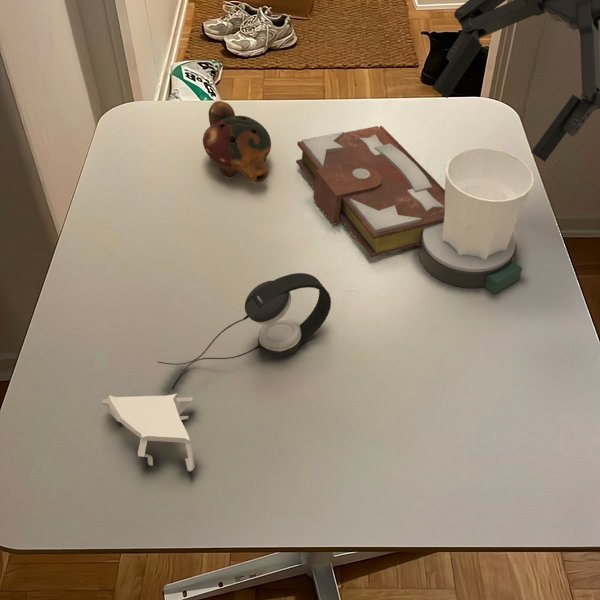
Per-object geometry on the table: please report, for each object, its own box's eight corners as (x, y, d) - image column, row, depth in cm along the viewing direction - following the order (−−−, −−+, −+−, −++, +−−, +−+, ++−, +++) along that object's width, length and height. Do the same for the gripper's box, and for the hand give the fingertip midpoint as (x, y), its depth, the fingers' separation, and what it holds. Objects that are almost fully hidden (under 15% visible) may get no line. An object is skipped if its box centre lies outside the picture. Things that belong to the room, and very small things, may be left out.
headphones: (173, 390, 84) (322, 305, 88) (188, 417, 82) (341, 329, 85) (144, 341, 77) (308, 251, 80) (159, 370, 74) (329, 275, 78)
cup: (439, 205, 97) (450, 142, 90) (516, 217, 96) (534, 154, 88) (430, 256, 91) (441, 194, 83) (513, 270, 89) (532, 207, 82)
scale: (539, 267, 94) (545, 248, 91) (471, 307, 89) (475, 289, 87) (466, 213, 101) (469, 196, 99) (399, 249, 96) (401, 231, 94)
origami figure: (221, 416, 79) (217, 388, 75) (193, 484, 73) (187, 457, 70) (118, 393, 81) (109, 365, 77) (83, 457, 75) (72, 430, 72)
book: (464, 237, 99) (472, 207, 96) (363, 264, 94) (368, 233, 90) (380, 148, 114) (385, 119, 110) (289, 167, 108) (291, 137, 105)
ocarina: (239, 132, 116) (239, 87, 110) (292, 185, 108) (295, 139, 102) (184, 150, 112) (181, 104, 106) (235, 206, 104) (235, 160, 98)
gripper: (742, 1, 68) (593, 194, 74) (530, -94, 80) (417, 79, 86) (736, -34, 62) (574, 179, 68) (507, -131, 74) (387, 58, 80)
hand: (486, 124), depth 77 cm, fingers open, 13 cm apart
